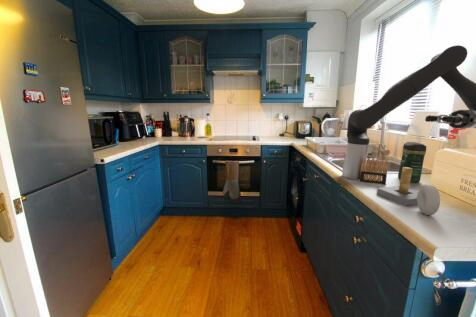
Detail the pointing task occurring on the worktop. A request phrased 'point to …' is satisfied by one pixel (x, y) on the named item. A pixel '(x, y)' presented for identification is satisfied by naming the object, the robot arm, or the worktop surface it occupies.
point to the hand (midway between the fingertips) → (438, 119)
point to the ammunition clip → (376, 172)
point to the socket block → (399, 195)
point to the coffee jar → (413, 159)
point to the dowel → (405, 180)
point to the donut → (428, 199)
